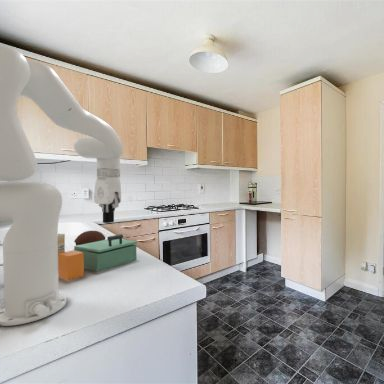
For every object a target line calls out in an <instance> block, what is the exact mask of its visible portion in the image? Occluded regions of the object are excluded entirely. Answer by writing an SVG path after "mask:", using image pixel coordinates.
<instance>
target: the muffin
mask: <svg viewBox="0 0 384 384" xmlns="http://www.w3.org/2000/svg"><path fill="white" fill-rule="evenodd" d="M102 240H106V235H105V234H103V233H102V232H101V231H98V230H86V231H83V232H82V233H80V234H78V236H77V237H76V238H75V239H74V243H75V246H77V245H82V244H87V243H92V242H97V241H102Z"/></svg>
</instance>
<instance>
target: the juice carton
mask: <svg viewBox="0 0 384 384" xmlns="http://www.w3.org/2000/svg"><path fill="white" fill-rule="evenodd" d="M84 274H85V267H84V253H83V252H79V251H75V250H74V249H73V250H69V251H65V252H63V253H59V254H58V279H59V278H60V279H61V280H65V281H67V282H69V281H72V280H76V279H78V278H82V277H84V276H85V275H84Z"/></svg>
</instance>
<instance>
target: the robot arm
mask: <svg viewBox="0 0 384 384" xmlns="http://www.w3.org/2000/svg"><path fill="white" fill-rule="evenodd" d="M19 98H27V99H30V100H32V102H33V103H34V104H35V105H36V106H37V107H38V108H39V109H40V110H41V111H42V113H44V114H45V115H46V116H47V117H48V119H50V120H51V121H52V123H54V124H55V125H56V126H58V127H60V128H63V129H66V130H69V131H71V132H75V133H77V134H82V135H85V136H80V137H78V138H77V139H76V140H75V141H74V142H73V143H74V144H73V148H74V151H75V153H76V154H77V155H78V156H80V157H82V158H83V159H93V160H94V159H95V160H96V178H95V184H94V193H93V194H94V196H93V197H94V198H93V200H94V203H95V204H96V205H98V206H99V207H100V208H101V212H102V223H103V224H110V223H114V222H115V211H116V208H119V204H120V203H121V202H122V186H121V157H122V156H123V154H124V152H125V151H124V150H125V149H124V145H123V142H122V140H121V138H120V137H119V135H118V134H117V132H116V130H115V129H114V128H113V127H112V126H111V125H110V124H109V123H108V122H106V121H105V120H104V119H101V118H100V117H98V116H96V115H95V114H93V113H92V112H89V111H87V110H86V109H85V108H83V107H82V106H81V104H80V102H78V100H77V99H76V98H75V96H74V95H73V94H72V92H71V91H70V89H69V88H68V87H67V86H66V84H65V83H64V82H63V80H62V79H61V78H60V76H59V75H58V73H56V71H55V70H54V69H53V68H52V67H51V66H49V65H48V64H46V63H44V62H40V61H35V60H28V59H27V58H26V56H24V55H23V53H22V52H21V51H19V50H18V49H15V48H13V47H11V46H8V45H5V44H2V43H1V44H0V222H2V223H3V222H9V223H10V222H11V223H12V224H11V226H10V228H9V229H8V231H7V232H6V233H5V236H4V238H3V241H2V261H3V263H2V266H3V269H2V270H3V294H4V295H3V300H4V302H3V303H4V308H2V309H1V310H0V326H4V327H10V326H18V325H24V324H28V323H32V322H36V321H40V320H41V319H44V318H46V317H47V318H48V317H49V316H51V315H53V314H56V313H57V312H59V311H61V310H62V309H63V308H64V307H65V306H66V304H67V303H68V302H67V299H68V298H67V296H66V295H64V294H60V293H59V292H60V291H59V290H60V289H59V288H60V287H59V283H60V282H59V270H58V234H59V232H58V231H59V221H60V215H61V211H62V207H63V196H62V193H61V191H60V190H59V189H58V188H57V187H55V186H53V184H49V183H46V182H39V181H22V180H27V179H30V178H31V177H33V176H35V175H36V173H37V171H38V161H37V157H36V156H35V153H34V151H33V149H32V146H31V144H30V142H29V140H28V137H27V135H26V133H25V130H24V128H23V126H22V124H21V121H20V118H19V116H18V111H17V110H18V109H17V107H18V100H19Z"/></svg>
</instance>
